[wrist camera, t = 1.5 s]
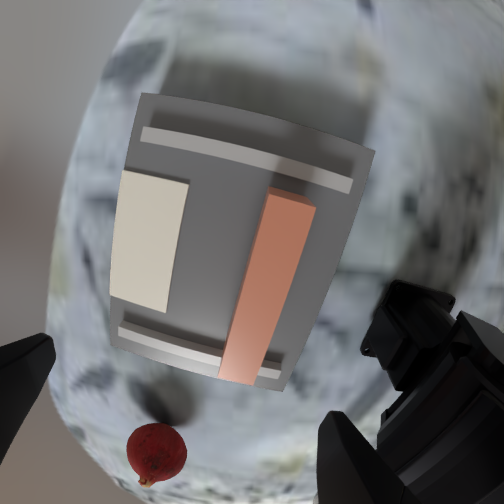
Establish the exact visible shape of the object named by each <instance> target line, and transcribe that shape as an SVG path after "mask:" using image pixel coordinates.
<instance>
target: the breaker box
mask: <svg viewBox="0 0 504 504" xmlns="http://www.w3.org/2000/svg"><path fill="white" fill-rule="evenodd" d="M374 154H375V151H374V150H372V149H369V148H366V147H364V146H361V145H359V144H356V143H353V142H351V141H348V140H345V139H342V138H339V137H337V136H334V135H331V134H328V133H325V132H322V131H319V130H316V129H312V128H309V127H306V126H303V125H300V124H296V123H293V122H289V121H286V120H282V119H279V118H275V117H271V116H267V115H263V114H260V113H255V112H251V111H247V110H243V109H238V108H234V107H229V106H225V105H220V104H215V103H210V102H204V101H199V100H193V99H187V98H180V97H174V96H167V95H159V94H151V93H141V96H140V100H139V104H138V108H137V112H136V116H135V120H134V124H133V128H132V133H131V137H130V142H129V146H128V151H127V156H126V162H125V167H124V170H122V175H121V181H120V188H119V194H118V201H117V209H116V217H115V225H114V235H113V245H112V257H111V273H110V295H111V306H110V341H111V345H112V346H115V347H117V348H120V349H123V350H126V351H128V352H131V353H134V354H137V355H140V356H143V357H146V358H149V359H152V360H155V361H158V362H161V363H164V364H168V365H171V366H174V367H178V368H181V369H184V370H188V371H192V372H195V373H199V374H203V375H207V376H210V377H214V378H218V372H219V367H220V362H221V358H222V353H223V348H224V344H225V340H226V337H227V333H228V329H229V326H230V322H231V318H232V315H233V311H234V308H235V304H236V300H237V297H238V293H239V290H240V286H241V282H242V279H243V275H244V272H245V268H246V264H247V261H248V257H249V254H250V250H251V246H252V243H253V239H254V236H255V232H256V228H257V225H258V221H259V218H260V214H261V210H262V207H263V203H264V200H265V196H266V192H267V189H268V186H270V187H274V188H277V189H281V190H284V191H288V192H291V193H295V194H298V195H301V196H305V197H307V198H308V199H309V200H310V201H311V202H312V203H313V204H314V206H315V207H316V210H315V214H314V217H313V220H312V223H311V226H310V229H309V232H308V235H307V238H306V241H305V244H304V248H303V251H302V254H301V256H300V259H299V262H298V265H297V268H296V271H295V274H294V277H293V280H292V283H291V286H290V289H289V291H288V294H287V297H286V300H285V303H284V305H283V308H282V311H281V314H280V316H279V319H278V322H277V325H276V327H275V330H274V333H273V335H272V338H271V341H270V343H269V346H268V349H267V351H266V354H265V356H264V359H263V362H262V364H261V367H260V369H259V372H258V374H257V377H256V379H255V382H254V384H253V385H249V386H254V387H259V388H264V389H269V390H275V391H281V392H283V390H284V388H285V386H286V384H287V382H288V380H289V378H290V376H291V374H292V372H293V370H294V367H295V365H296V363H297V361H298V359H299V357H300V355H301V352H302V350H303V348H304V346H305V344H306V341H307V339H308V337H309V335H310V332H311V330H312V328H313V325H314V323H315V321H316V318H317V316H318V314H319V311H320V309H321V306H322V304H323V302H324V299H325V297H326V294H327V292H328V289H329V287H330V284H331V282H332V279H333V277H334V274H335V271H336V269H337V266H338V263H339V261H340V258H341V255H342V253H343V250H344V247H345V244H346V242H347V239H348V236H349V233H350V230H351V227H352V225H353V222H354V219H355V216H356V213H357V210H358V207H359V204H360V200H361V197H362V194H363V191H364V188H365V185H366V181H367V178H368V175H369V171H370V168H371V165H372V161H373V158H374ZM218 379H222V378H218ZM223 380H226V379H223ZM227 381H230V380H227ZM231 382H235V381H231ZM235 383H239V382H235ZM240 384H244V383H240ZM245 385H248V384H245Z"/></svg>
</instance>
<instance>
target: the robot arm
mask: <svg viewBox="0 0 504 504" xmlns="http://www.w3.org/2000/svg"><path fill="white" fill-rule="evenodd" d="M398 285H400V287H399V288H398V289H396V287H397V286H398ZM450 300H451V301H450ZM455 300H456V299H455V297H454V296H452V295H451V294H447V293H444V292H440V291H437V290H433V289H430V288H426V287H423V286H420V285H416V284H413V283H409V282H405V281H402V280H395V281H394V282H393V283H392V284H391V286H390V288H389V291H388V293H387V295H386V297H385V299H384V302H383V304H382V305H381V306H380V307H379V309H378V311H377V313H376V316H375V318H374V320H373V322H372V324H371V326H370V328H369V330H368V331H367V334H366V335H367V336H366V338H365V340H364V342H363V343H362V345H361V347H360V351H361V353H362V355H364V356H369V357H376V358H378V361H379V363H380V365H381V367H382V369H383V370H386V371H387V373H388V375H389V378H390V380H391V382H392V384H393V386H394V388H395V390H396V391H402V392H403V393H402V394H401V395H400V396H399V397H398V399H397V400H396V401H395V402H394V403H393V404H392V405H391V406H390V407H389V409H386V410H385V411H384V412H383V413H382V414H381V427H380V430H379V432H378V434H377V449H376V450H375V449H374V448H373V447H372V446H371V445H370V443H369V442H368V441H367V440H366V439H365V438H364V436H363V435H362V434H361V433H360V432H359V430H358V429H357V428H356V427H355V426H354V424H353V423H352V422H351V421H350V420H349V418H348V417H347V416H346V415H345V414H344V413H343V412H342V411H330V412H328V414H327V415H326V417H325V418H324V420H323V421H322V423H321V424H320V426H319V429H318V447H317V469H316V473H317V489H318V504H504V333H502V332H501V331H500V330H499V329H498V328H497V327H495V326H493V325H491V324H489V323H487V322H485V321H483V320H481V319H478V318H476V317H474V316H472V315H470V314H468V313H466V312H464V311H462V310H461V311H460V312H459V314H458V316H457V317H456V319H457V320H455V319H454V318H453V317H452V316H451V315H450V312H451V310H452V308H453V306H454V304H455ZM449 301H450V302H449ZM367 348H369V349H368V350H365V349H367ZM55 360H56V352H55V348H54V343H53V339H52V337H51V336H49V335H47V334H45V333H39V334H36V335H33V336H30V337H27V338H24V339H21V340H18V341H15V342H12V343H10V344H7V345H4V346H1V347H0V465H1V463H2V461H3V459H4V457H5V455H6V453H7V451H8V449H9V447H10V445H11V443H12V441H13V439H14V437H15V436H16V434H17V432H18V430H19V428H20V426H21V425H22V423H23V421H24V419H25V418H26V416H27V414H28V412H29V411H30V409H31V407H32V406H33V404H34V402H35V401H36V399H37V397H38V395H39V393H40V391H41V389H42V387H43V385H44V383H45V381H46V379H47V377H48V375H49V373H50V371H51V369H52V367H53V365H54V363H55Z"/></svg>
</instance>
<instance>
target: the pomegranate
mask: <svg viewBox="0 0 504 504" xmlns="http://www.w3.org/2000/svg"><path fill="white" fill-rule="evenodd" d="M127 457H128V461H129V463H130V465H131V467H132V468H133V470H134V471H135V472H136V473H137V474H138V475H139V476H140V480H139V481H138V482H139V483H140V485H141V486H142V487H150V486H151V485H153V484H154V483H155V482H158V481H165V480H167V479H170V478H172V477H174V476H176V475H177V474H178V473H179V472H180V471H181V470H182V468H183V466H184V464H185V461H186V458H187V448H186V445H185V443H184V440H183V438H182V437H181V436H180V434H179V433H178V432H177V431H176V430H175V429H173V428H172V427H171V426H169V425H168V424H166V423H151V424H147V425H143V426H141V427H139V428H137V429H135V431H134V432H133V433H132V434H131V436H130V437H129V439H128V442H127Z"/></svg>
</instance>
